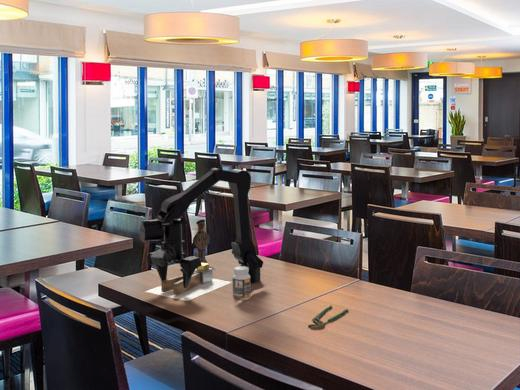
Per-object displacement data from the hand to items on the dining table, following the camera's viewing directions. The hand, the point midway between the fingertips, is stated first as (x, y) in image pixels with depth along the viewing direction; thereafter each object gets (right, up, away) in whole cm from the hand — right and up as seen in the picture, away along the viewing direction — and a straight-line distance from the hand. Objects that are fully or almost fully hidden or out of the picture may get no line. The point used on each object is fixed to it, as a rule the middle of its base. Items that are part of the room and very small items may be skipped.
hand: (174, 285), depth 199 cm
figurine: (+5, +2, +38) cm, 39 cm away
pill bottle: (+22, -4, -3) cm, 22 cm away
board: (+4, -2, +7) cm, 8 cm away
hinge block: (+8, 0, +12) cm, 15 cm away
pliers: (+46, -7, -21) cm, 52 cm away
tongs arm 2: (+4, -2, +3) cm, 5 cm away
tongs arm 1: (+1, -1, +5) cm, 5 cm away
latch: (+8, +4, +12) cm, 15 cm away
